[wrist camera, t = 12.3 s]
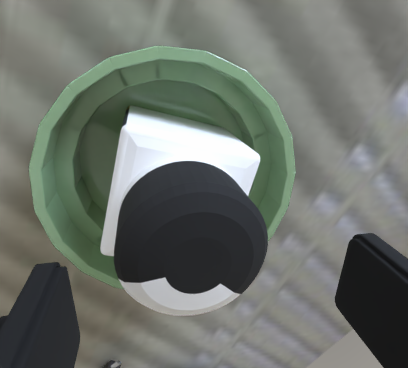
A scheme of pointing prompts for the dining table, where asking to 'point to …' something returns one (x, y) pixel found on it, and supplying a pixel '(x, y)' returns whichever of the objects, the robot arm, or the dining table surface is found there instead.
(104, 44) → the dining table surface
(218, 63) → the bowl
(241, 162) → the medicine bottle
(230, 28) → the dining table surface
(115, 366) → the clip-on lamp
